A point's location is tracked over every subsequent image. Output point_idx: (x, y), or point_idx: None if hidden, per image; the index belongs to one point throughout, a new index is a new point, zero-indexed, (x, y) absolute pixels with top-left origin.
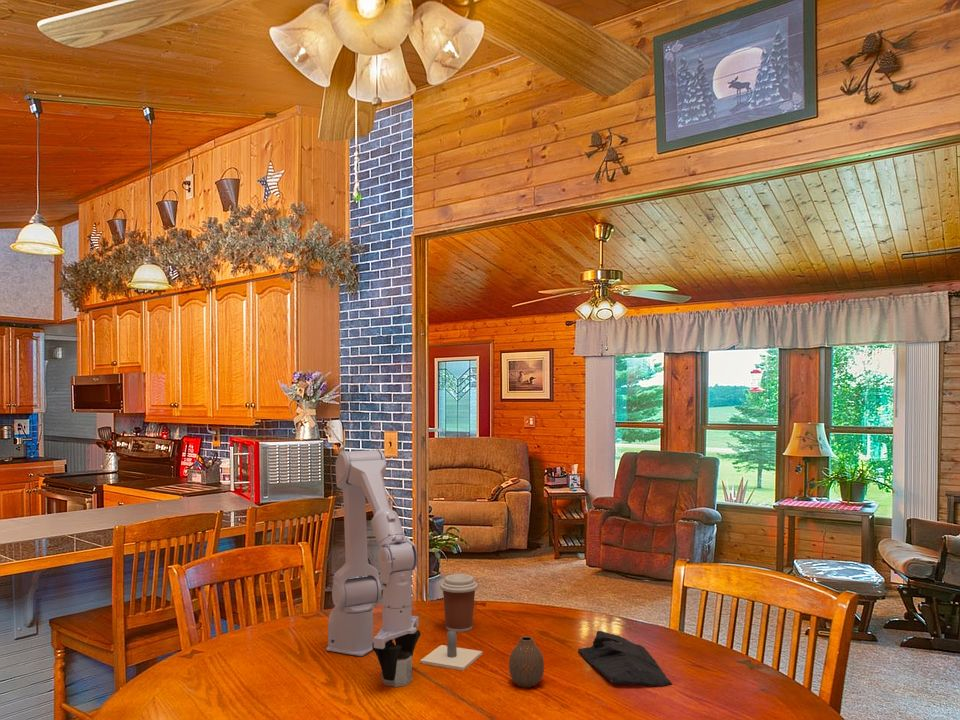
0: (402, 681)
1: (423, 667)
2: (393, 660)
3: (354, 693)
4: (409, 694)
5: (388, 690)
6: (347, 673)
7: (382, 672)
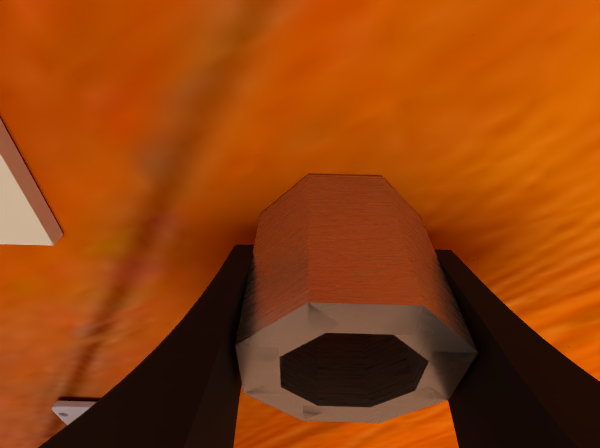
0: (402, 206)
1: (93, 197)
2: (586, 373)
3: None
4: (523, 95)
5: (467, 228)
6: None
7: None
